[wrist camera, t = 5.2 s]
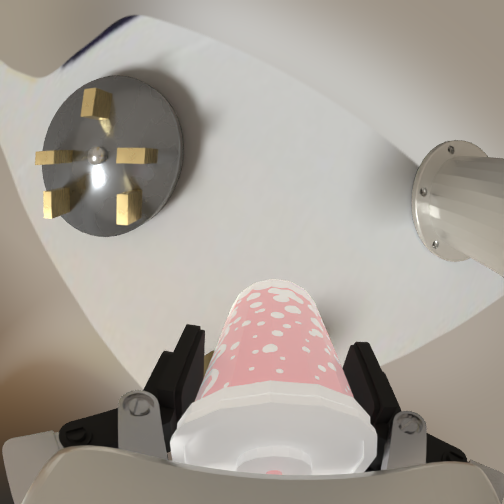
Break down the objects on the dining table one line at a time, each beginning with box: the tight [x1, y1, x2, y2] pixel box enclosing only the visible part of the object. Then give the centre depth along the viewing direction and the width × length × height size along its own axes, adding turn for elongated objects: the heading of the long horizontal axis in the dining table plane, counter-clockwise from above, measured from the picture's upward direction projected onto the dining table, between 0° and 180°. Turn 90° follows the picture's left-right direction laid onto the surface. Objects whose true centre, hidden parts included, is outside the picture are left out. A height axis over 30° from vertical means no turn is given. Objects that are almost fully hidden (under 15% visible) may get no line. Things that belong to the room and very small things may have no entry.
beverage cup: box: [170, 279, 377, 475], centre depth 9 cm, size 6×6×14 cm
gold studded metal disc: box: [35, 76, 183, 237], centre depth 22 cm, size 15×15×5 cm
